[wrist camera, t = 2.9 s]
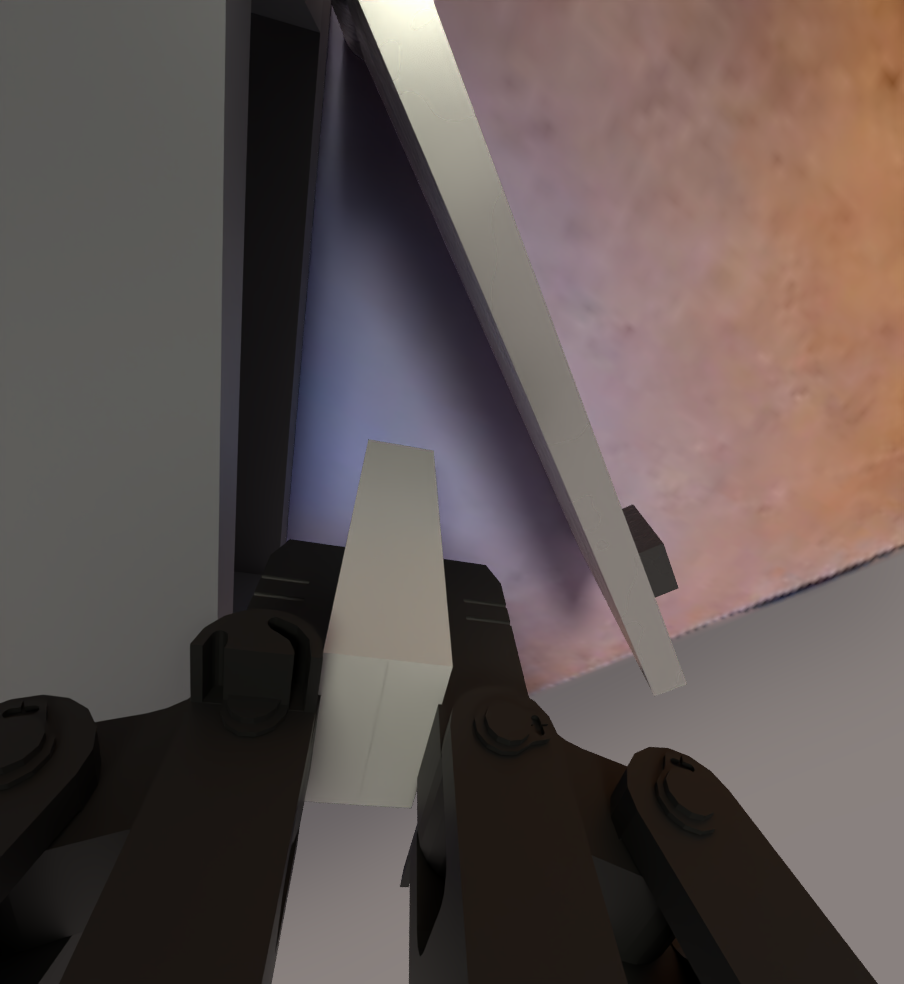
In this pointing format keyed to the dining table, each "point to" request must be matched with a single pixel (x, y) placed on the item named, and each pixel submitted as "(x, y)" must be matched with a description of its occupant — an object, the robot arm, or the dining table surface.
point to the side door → (512, 310)
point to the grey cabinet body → (147, 327)
